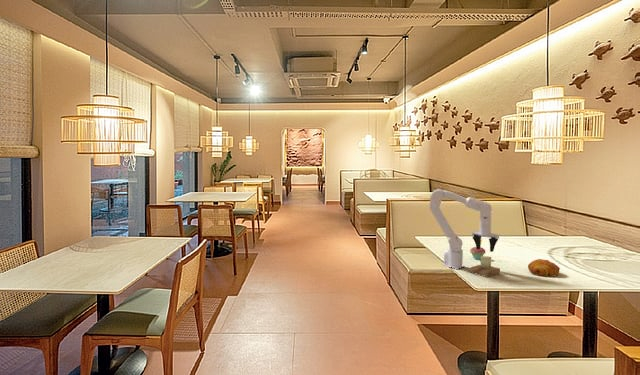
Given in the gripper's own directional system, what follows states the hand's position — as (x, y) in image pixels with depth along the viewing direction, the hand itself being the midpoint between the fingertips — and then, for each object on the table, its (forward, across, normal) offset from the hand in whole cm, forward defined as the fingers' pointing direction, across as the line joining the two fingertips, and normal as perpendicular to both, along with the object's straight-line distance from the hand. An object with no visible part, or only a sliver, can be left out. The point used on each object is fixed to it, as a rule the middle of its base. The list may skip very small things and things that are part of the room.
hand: (485, 250), depth 223 cm
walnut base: (+10, +4, -7) cm, 13 cm away
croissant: (+11, +23, +18) cm, 31 cm away
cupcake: (+11, -15, +19) cm, 26 cm away
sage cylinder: (+7, +4, -6) cm, 11 cm away
